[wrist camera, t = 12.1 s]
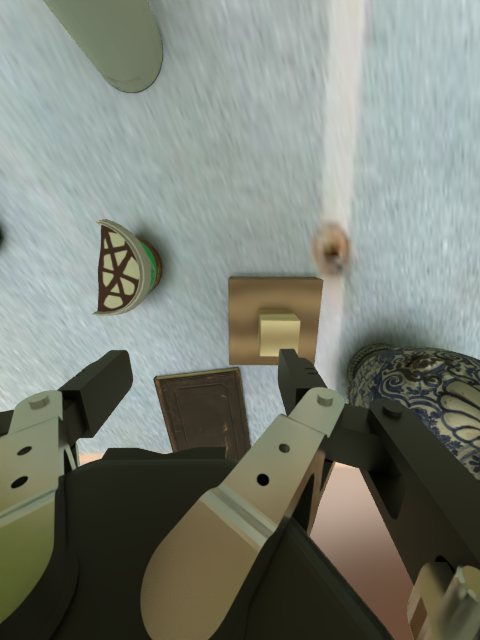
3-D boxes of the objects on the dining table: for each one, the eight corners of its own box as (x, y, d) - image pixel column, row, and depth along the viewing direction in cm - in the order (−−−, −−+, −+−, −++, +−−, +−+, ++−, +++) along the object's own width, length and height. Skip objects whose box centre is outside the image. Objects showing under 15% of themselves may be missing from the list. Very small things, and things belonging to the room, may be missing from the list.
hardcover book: (239, 364, 43) (239, 371, 41) (253, 460, 49) (253, 469, 47) (156, 374, 44) (151, 380, 41) (180, 467, 50) (178, 476, 48)
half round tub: (164, 309, 39) (139, 328, 30) (129, 302, 39) (92, 318, 29) (174, 235, 36) (149, 229, 26) (135, 226, 36) (96, 216, 26)
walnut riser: (229, 276, 38) (228, 279, 34) (314, 277, 37) (323, 279, 34) (230, 354, 42) (229, 364, 38) (307, 355, 41) (314, 365, 38)
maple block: (258, 309, 35) (261, 320, 29) (290, 309, 35) (300, 321, 29) (257, 339, 36) (260, 356, 31) (288, 340, 36) (297, 356, 31)
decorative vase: (309, 338, 40) (451, 507, 14) (414, 298, 38) (821, 404, 12) (341, 429, 46) (485, 677, 19) (434, 399, 44) (738, 626, 17)
